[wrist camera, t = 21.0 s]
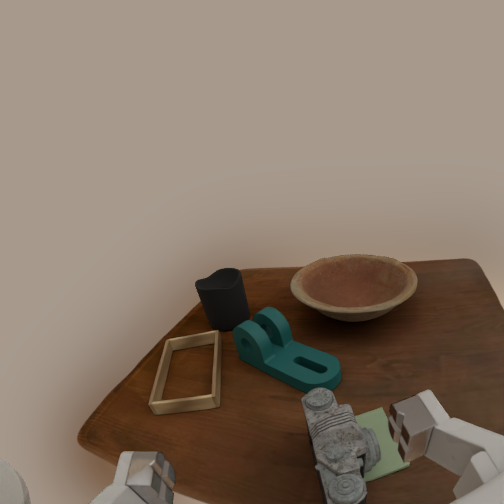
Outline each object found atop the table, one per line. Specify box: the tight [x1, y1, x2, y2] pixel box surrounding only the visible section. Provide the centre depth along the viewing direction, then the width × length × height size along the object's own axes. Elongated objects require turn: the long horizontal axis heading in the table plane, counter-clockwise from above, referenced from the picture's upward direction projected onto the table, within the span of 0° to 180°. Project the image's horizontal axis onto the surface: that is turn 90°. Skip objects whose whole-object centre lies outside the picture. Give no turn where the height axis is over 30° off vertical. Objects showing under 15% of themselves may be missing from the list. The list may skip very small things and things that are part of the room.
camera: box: [302, 388, 381, 504], centre depth 26 cm, size 15×7×10 cm, turn 3°
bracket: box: [233, 307, 341, 393], centre depth 48 cm, size 18×7×8 cm, turn 42°
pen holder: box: [195, 268, 250, 331], centre depth 65 cm, size 9×9×10 cm
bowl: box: [290, 254, 417, 322], centre depth 58 cm, size 24×24×8 cm
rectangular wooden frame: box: [148, 330, 222, 415], centre depth 52 cm, size 11×18×2 cm, turn 3°
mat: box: [355, 407, 410, 482], centre depth 31 cm, size 10×10×1 cm
